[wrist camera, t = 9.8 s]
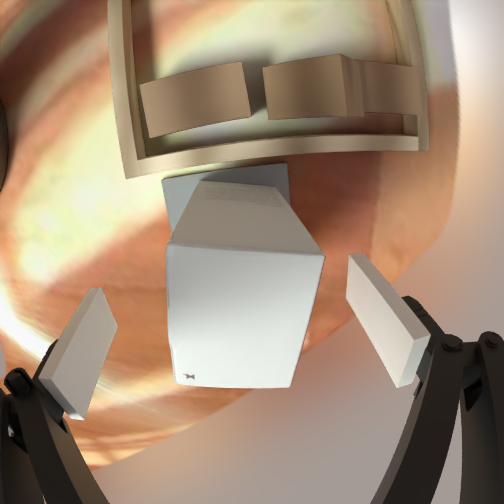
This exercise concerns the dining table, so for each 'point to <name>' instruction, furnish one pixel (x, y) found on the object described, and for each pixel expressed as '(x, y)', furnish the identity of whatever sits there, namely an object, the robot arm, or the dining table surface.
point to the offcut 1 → (195, 99)
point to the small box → (239, 287)
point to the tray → (141, 165)
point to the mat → (184, 186)
